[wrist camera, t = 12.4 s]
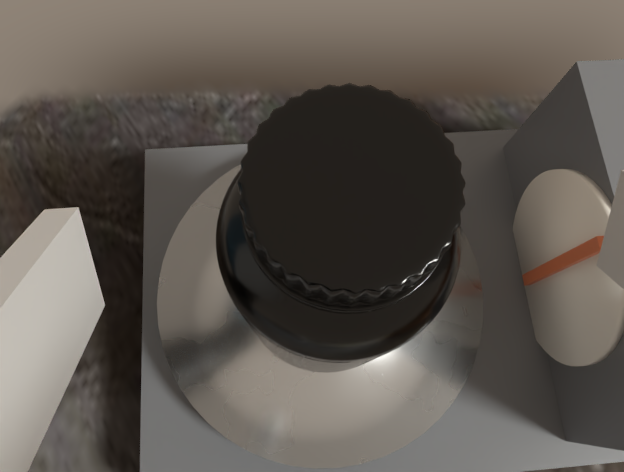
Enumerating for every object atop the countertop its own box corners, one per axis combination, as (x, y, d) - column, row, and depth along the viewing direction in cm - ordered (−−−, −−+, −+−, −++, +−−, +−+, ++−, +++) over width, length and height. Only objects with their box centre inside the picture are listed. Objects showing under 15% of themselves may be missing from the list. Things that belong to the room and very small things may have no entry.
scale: (157, 495, 23) (65, 564, 14) (159, 174, 28) (92, 60, 18) (618, 450, 25) (825, 485, 15) (546, 152, 29) (669, 35, 20)
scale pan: (163, 480, 21) (155, 485, 19) (164, 164, 25) (158, 153, 24) (500, 448, 21) (512, 451, 20) (447, 148, 26) (454, 136, 24)
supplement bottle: (327, 188, 23) (362, -12, 12) (434, 298, 22) (591, 192, 11) (209, 286, 22) (120, 165, 10) (317, 411, 20) (352, 432, 9)
